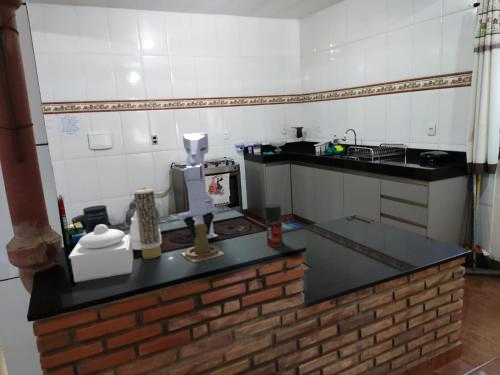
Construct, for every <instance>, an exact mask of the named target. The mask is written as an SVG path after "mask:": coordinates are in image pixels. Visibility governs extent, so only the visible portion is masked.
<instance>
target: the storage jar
mask: <svg viewBox="0 0 500 375" xmlns="http://www.w3.org/2000/svg"><path fill="white" fill-rule="evenodd" d="M82 211H83V219H84V220H83V221H84V222H85V228H86V230H85V233H86V234H88V233H91V232H94V229H95V227H96V226H97V225H100V224H104V225H106V226H107V227H108V229H111V228H110V226H109V215H108V213H109V212H108V209H107V205H93V206H88V207H84V208H82Z"/></svg>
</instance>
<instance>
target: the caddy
mask: <svg viewBox="0 0 500 375" xmlns="http://www.w3.org/2000/svg"><path fill="white" fill-rule="evenodd" d="M194 247H195V246H192V247H190V248H187V249H186V250H185V251H184V252H180V255H181V254H182V255H183V256H182V255H181V256H182V257H184V258H185V257H186V258H185V259H187V260H189V261H190V262H192V263H193V264H195V263H199V262H202V261H206V260H210V259H213V258H217V257H220V256H224V255H225V253H224V252H223V251H222V250H219V247H218V246H217V245H214V244H209V247H210V251H211V252H209V253H206V254H194Z"/></svg>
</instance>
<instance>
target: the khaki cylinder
mask: <svg viewBox="0 0 500 375" xmlns="http://www.w3.org/2000/svg"><path fill="white" fill-rule="evenodd" d="M206 232H207V226H206V224H196V225H195V238H194V246H193V247H194V254H206V253H209V252H211V251H210V247H209V245H210V244H209V239H208V238H207V234H206Z"/></svg>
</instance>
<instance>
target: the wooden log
mask: <svg viewBox="0 0 500 375" xmlns="http://www.w3.org/2000/svg"><path fill="white" fill-rule="evenodd" d="M154 192H155V191H154V188H145V189H138V190H135V191H134V192H133V193H134V201H135V209H136V210H137V218H138V226H139V234H140V242H141V249H142V250H141V256H142V258H143V259H145V260H151V259H152V258H153V259H157V258H159V257H160V256H161V255H162V251H161V244H160V240H159V231H158V227H159V224H158V216H157V208H156V198H155V193H154ZM136 210H135V211H136ZM158 256H159V257H158ZM156 257H157V258H156ZM153 259H152V260H153Z"/></svg>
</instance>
